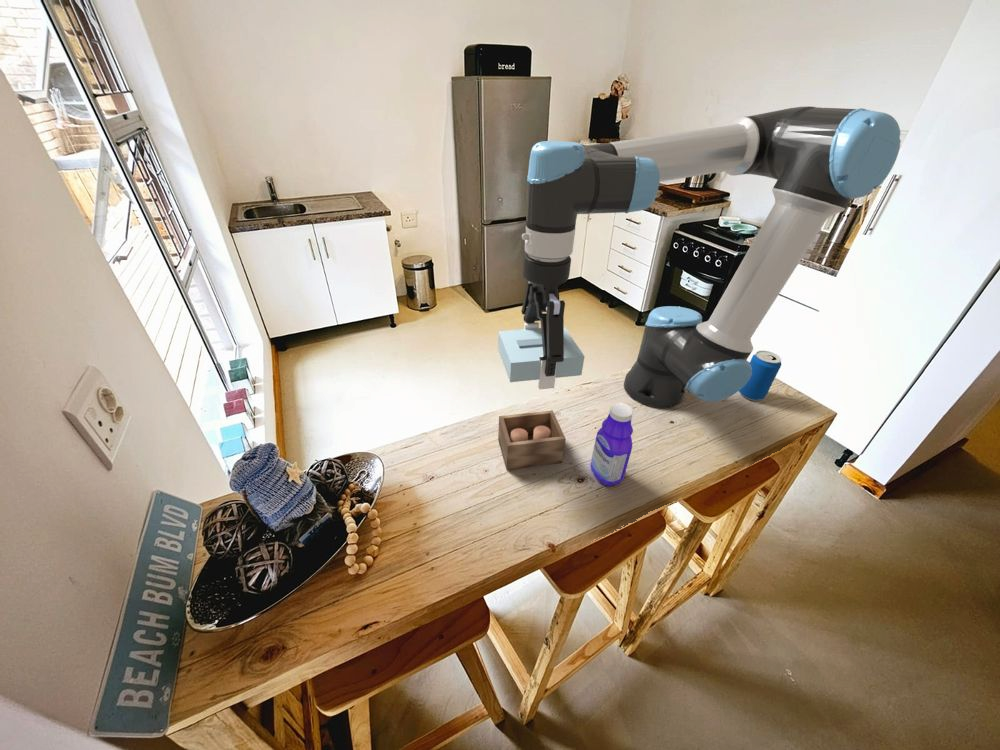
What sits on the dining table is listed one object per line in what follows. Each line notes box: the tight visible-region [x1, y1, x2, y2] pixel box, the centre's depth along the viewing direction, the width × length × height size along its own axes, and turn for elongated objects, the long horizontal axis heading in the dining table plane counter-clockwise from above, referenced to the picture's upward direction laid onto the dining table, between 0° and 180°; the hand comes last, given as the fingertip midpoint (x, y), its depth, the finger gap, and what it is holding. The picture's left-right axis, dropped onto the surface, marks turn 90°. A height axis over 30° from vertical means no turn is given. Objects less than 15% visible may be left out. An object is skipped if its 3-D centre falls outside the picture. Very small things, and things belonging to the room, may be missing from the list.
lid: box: [497, 325, 586, 383], centre depth 76 cm, size 13×11×4 cm
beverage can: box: [738, 350, 782, 402], centre depth 106 cm, size 6×6×12 cm
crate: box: [497, 410, 567, 471], centre depth 88 cm, size 12×9×7 cm
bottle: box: [590, 402, 634, 487], centre depth 80 cm, size 7×6×17 cm
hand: (537, 369), depth 78 cm, fingers closed on lid, 11 cm apart
